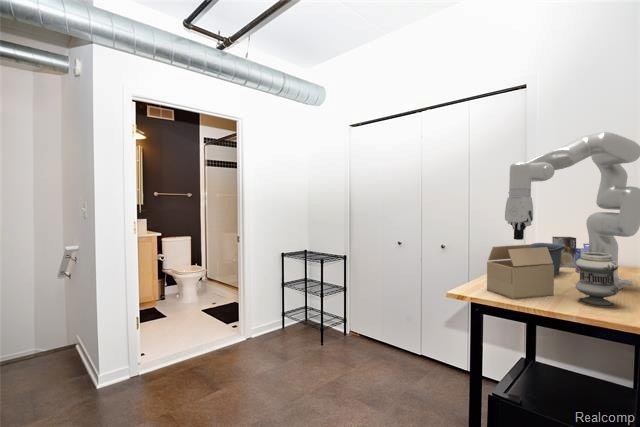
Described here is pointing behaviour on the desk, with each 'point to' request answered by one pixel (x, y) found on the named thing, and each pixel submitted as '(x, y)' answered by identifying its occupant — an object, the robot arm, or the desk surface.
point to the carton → (520, 279)
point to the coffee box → (567, 250)
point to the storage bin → (552, 253)
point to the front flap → (530, 256)
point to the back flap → (504, 251)
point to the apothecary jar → (597, 278)
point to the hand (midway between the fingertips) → (518, 239)
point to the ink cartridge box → (579, 253)
